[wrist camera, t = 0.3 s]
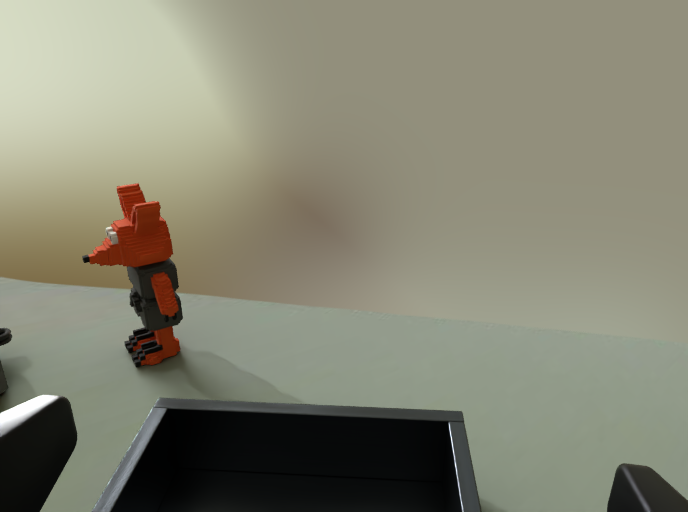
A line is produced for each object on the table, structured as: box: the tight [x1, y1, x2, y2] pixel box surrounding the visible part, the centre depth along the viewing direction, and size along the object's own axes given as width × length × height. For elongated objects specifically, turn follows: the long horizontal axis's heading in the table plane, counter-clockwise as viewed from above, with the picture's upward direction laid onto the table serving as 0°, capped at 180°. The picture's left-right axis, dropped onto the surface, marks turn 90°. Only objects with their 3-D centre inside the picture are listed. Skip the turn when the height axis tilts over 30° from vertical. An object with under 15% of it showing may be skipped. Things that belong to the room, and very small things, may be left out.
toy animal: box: [83, 184, 183, 367], centre depth 39 cm, size 8×6×12 cm
